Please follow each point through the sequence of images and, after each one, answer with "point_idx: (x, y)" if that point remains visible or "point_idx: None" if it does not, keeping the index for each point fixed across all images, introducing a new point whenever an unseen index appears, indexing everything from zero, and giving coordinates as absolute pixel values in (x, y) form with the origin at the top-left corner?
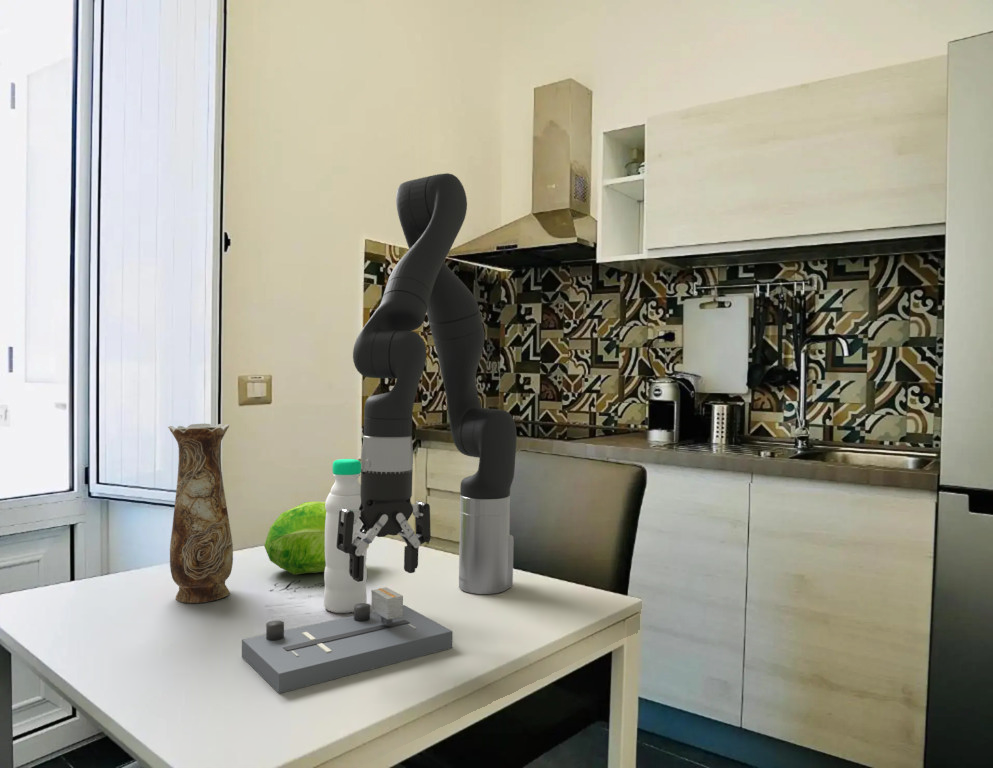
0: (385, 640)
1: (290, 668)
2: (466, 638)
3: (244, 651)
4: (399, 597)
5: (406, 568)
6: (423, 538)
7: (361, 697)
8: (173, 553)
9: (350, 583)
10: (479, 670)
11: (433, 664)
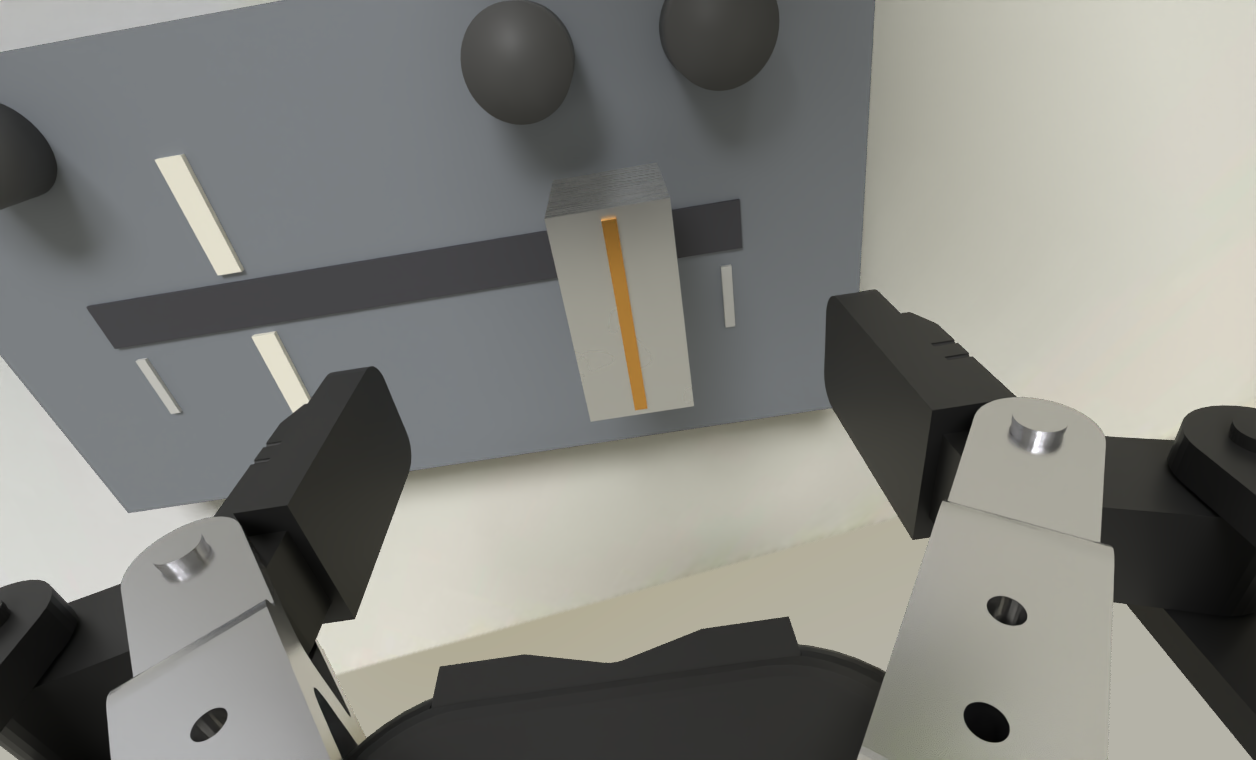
0: (557, 393)
1: (164, 492)
2: (939, 303)
3: None
4: (668, 407)
5: (835, 339)
6: (1132, 607)
7: (422, 555)
8: None
9: None
10: (795, 531)
11: (696, 455)
